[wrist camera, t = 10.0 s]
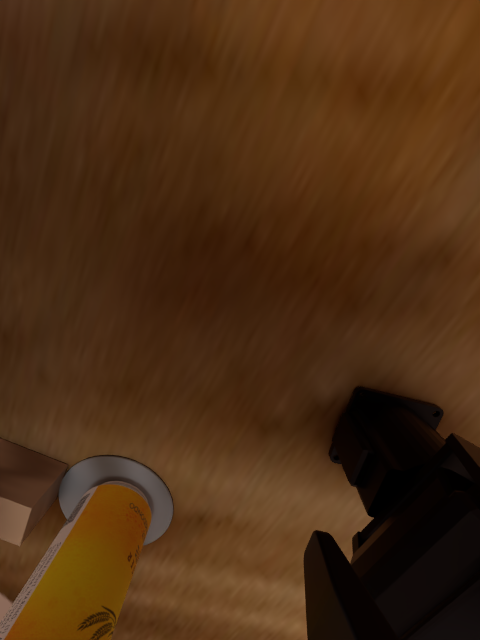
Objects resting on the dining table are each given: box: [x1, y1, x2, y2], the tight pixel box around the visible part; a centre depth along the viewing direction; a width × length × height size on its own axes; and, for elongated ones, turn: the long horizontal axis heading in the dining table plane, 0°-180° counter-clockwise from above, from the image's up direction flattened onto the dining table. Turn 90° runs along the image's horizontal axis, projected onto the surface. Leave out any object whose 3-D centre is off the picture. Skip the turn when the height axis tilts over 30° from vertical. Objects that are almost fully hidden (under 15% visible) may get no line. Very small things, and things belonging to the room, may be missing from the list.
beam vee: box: [0, 438, 173, 546], centre depth 23 cm, size 15×20×4 cm
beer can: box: [0, 481, 152, 640], centre depth 17 cm, size 6×6×15 cm
